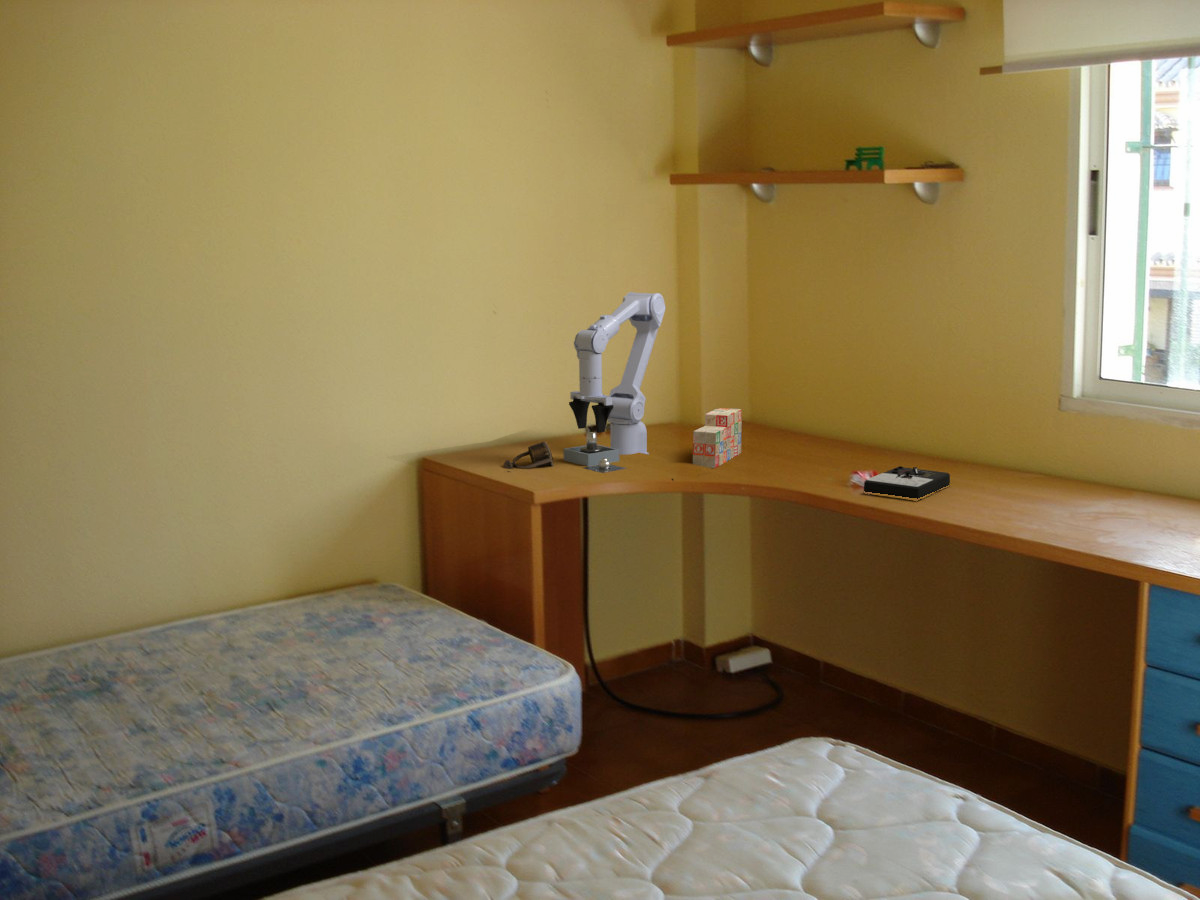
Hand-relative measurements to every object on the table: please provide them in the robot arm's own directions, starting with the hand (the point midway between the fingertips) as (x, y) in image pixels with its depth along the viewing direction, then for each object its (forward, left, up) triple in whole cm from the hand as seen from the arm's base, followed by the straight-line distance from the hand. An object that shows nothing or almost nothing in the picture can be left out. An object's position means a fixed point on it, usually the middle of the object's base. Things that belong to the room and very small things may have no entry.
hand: (591, 430), depth 315 cm
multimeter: (-36, +71, -10) cm, 81 cm away
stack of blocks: (-28, +17, -9) cm, 34 cm away
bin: (0, 0, -9) cm, 9 cm away
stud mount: (+4, +10, -9) cm, 14 cm away
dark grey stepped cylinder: (0, 0, -8) cm, 8 cm away
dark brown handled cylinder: (+15, -6, -9) cm, 19 cm away
